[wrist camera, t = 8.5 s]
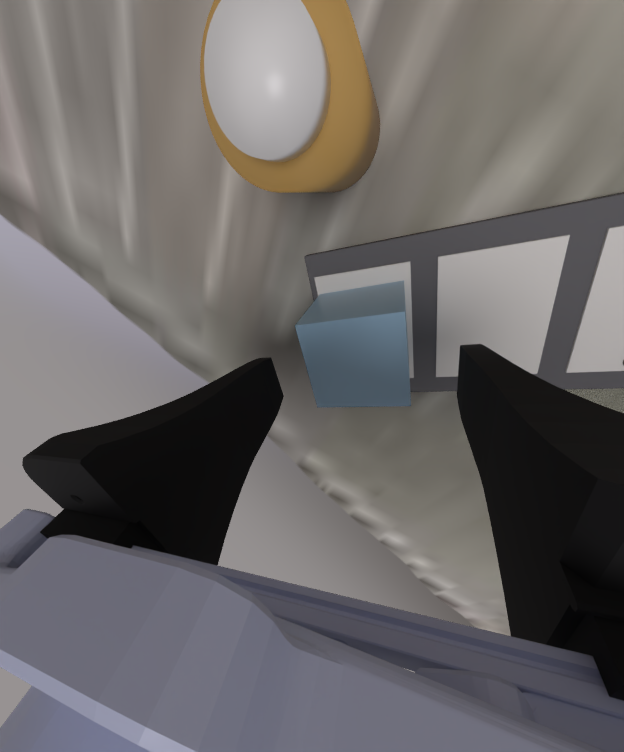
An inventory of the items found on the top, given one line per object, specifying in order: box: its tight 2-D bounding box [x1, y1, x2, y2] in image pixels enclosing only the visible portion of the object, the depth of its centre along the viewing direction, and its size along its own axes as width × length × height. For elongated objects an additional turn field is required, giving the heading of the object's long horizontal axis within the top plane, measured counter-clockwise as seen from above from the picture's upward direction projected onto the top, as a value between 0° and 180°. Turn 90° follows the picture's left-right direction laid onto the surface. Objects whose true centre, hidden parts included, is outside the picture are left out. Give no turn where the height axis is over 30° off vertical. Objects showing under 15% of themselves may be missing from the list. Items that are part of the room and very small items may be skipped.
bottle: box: [200, 0, 380, 192], centre depth 8 cm, size 4×4×7 cm
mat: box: [305, 193, 624, 392], centre depth 12 cm, size 8×16×1 cm, turn 102°
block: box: [295, 280, 411, 407], centre depth 12 cm, size 4×4×4 cm
